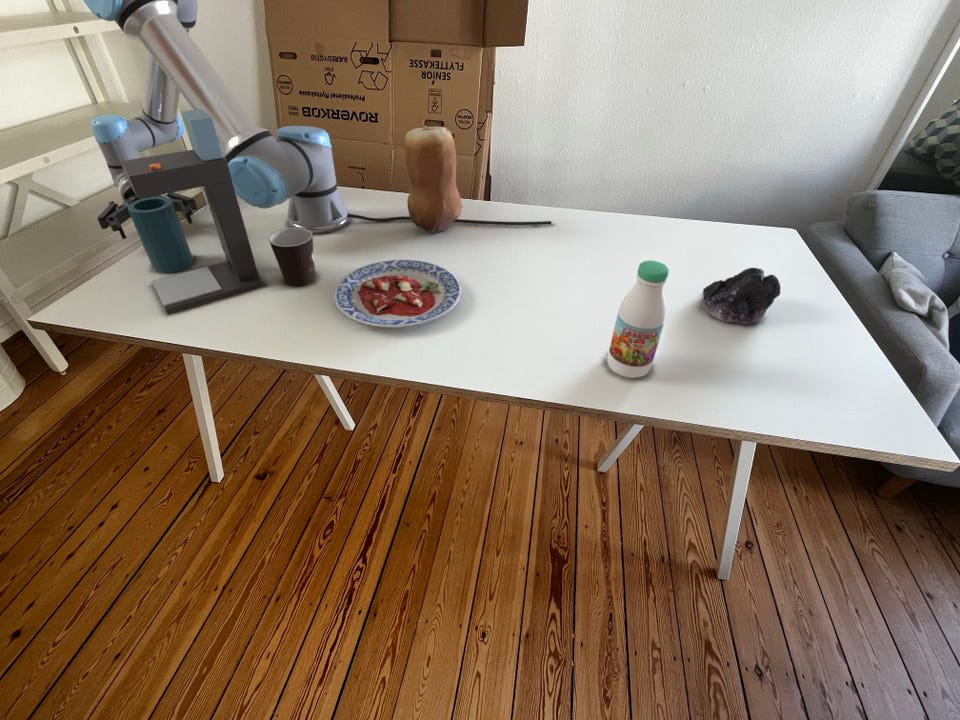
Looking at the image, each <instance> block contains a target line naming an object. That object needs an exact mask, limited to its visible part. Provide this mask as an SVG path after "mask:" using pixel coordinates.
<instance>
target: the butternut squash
mask: <svg viewBox="0 0 960 720" xmlns="http://www.w3.org/2000/svg"><path fill="white" fill-rule="evenodd" d="M454 140H455V139H454V137H453V135H452V133H451V131H450V130H449V129H447V128H446V127H444V126H438V125H437V126H436V125H435V126H427V127H415V128H413V129H410V130H408V132H406V134H405V136H404V145H403V146H404V154H405V155H404V156H405V166H406V171H407V174H408V177H409V180H410V182H409V183H410V187H409V191H408V192H409V193H408V196H407V201H406V202H407V212H408V216H410V218H411V219H412V220H411V221H412V223H414V225H415V227H416V228H419V229H422V230H423V231H425V232H426V233H432V234H433V233H434V234H436V233H443V232H445V231H446V230H447V229H448V228H449V227H450V226H451V225H452V224H453V223H455V222H454V221H455V220H456V219H459V217H460V215H461V213H462V209H463V208H464V207H463V204H462V203H463V202H462V197H461V195H460V192H459V190H458V187H457V152H456V146H455V141H454Z"/></svg>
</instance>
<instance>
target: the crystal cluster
mask: <svg viewBox="0 0 960 720" xmlns="http://www.w3.org/2000/svg"><path fill="white" fill-rule="evenodd" d="M781 287H782V286H781V283H780V281H779V279H778V277H777V276H776V275H774V274H769V275H766V276H765V271H764V270H763V269H762V268H758V267H749V268H745V269H743V270H742V271H741V272H739V273H737V274H735V275H733V276H732V277H731V276H730V277H728V278H726V279H725V280H722V279H720V280H716V281H713V282H712V283H710V284H709V285H707V286H705V287H704V288H703V290H702V296H703V305H702V308H703V309H704V310H705V311H707V312H708V313H709V314H710V315H711V316H712V317H713V318H715V319H717V320H719V321H721V322H724V323H731V324H743V325H745V324H752V323H757V322H760V321H761V320H762V318H763V317H764V316H765V314H766V312H767V311H768V309H769V308H770V307H771V306H772V305H773V303H774V301H775V299H776V298H778V297H779V296H780V295H781Z"/></svg>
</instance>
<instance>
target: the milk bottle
mask: <svg viewBox="0 0 960 720" xmlns="http://www.w3.org/2000/svg"><path fill="white" fill-rule="evenodd" d="M669 273H670V269H669V267H668V265H666V264H665V263H663V262H661V261H657V260H650V259H649V260H644V261H642V262H640V264H639V265H638V268H637V273H636V281H635V283H634V285H633V286H632V288H631V289H630V290H629V291H628V292H627V293H626V295H625V296H624V298H623V299H622V300H621V303H620V305H619V308H618V312H617V315H616V319H615V324H614V327H613V331H612V336H611V340H610V344H609V347H608V348H609V349H608V353H607V358H606V362H607V365H608V367H609V368H610V369H611V371H612V372H614V373H615V374H617V375H619V376H621V377H625V378H630V379H638V378H642V377H644V376H646V375H647V374H648V373H649V372H650V371H651V368H652V365H653V362H654V360H655V356H656V352H657V350H658V346H659V342H660V339H661V336H662V332H663V329H664V326H665V321H666V316H667V304H666V303H667V302H666V298H665V294H664V285H665V284H667V279H668V277H669Z"/></svg>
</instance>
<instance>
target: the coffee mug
mask: <svg viewBox="0 0 960 720" xmlns="http://www.w3.org/2000/svg"><path fill="white" fill-rule="evenodd" d="M268 242H269V244H270V247H271V249H272V252H273V255H274V257H275V260H276V262H277V265H278V267H279V270H280V273H281V275H282V277H283V278H282V279H283V280H284V282H285V284H286V285H288V286H289V287H293V288H295V287H296V288H299V287H305V286H308V285H310V284H313V282H315V280H316V268H315V267H316V266H315V251H314V236H313V234H312V233H311V231H309V230H307V229H304V228H291V227H287V228H282V229H279V230H277V231H275V232H273V233H272V234H271V235H270V236H269V237H268Z"/></svg>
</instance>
